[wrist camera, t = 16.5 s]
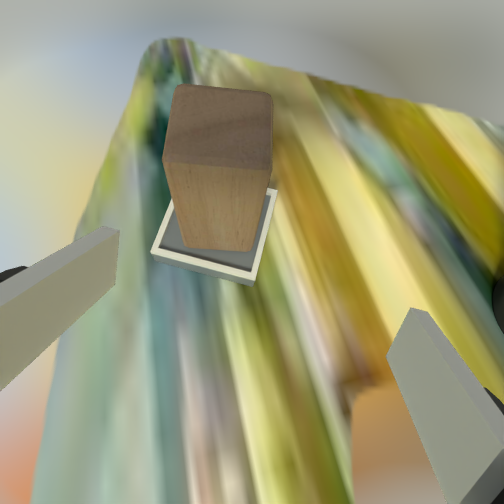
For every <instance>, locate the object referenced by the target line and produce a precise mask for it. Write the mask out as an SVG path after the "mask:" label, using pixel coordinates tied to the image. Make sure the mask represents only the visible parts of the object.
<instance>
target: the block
mask: <svg viewBox="0 0 504 504" xmlns="http://www.w3.org/2000/svg"><path fill="white" fill-rule="evenodd" d="M272 149H273V102H272V98H271V96H270V95H269V94H267V93H265V92H258V91H248V90H239V89H229V88H220V87H211V86H201V85H192V84H180V85H178V86H177V87H176V88H175V91H174V94H173V100H172V105H171V111H170V117H169V123H168V128H167V134H166V140H165V146H164V151H163V157H162V162H163V165H164V169H165V173H166V177H167V181H168V185H169V189H170V193H171V197H172V201H173V205H174V209H175V213H176V217H177V220H178V224H179V228H180V232H181V236H182V240H183V243H184V246H186V247H188V248H197V249H212V250H226V251H240V252H247V251H251V250H252V248H253V245H254V241H255V237H256V233H257V229H258V225H259V221H260V217H261V213H262V209H263V205H264V201H265V196H266V192H267V188H268V184H269V180H270V176H271V172H272Z"/></svg>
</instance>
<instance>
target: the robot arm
mask: <svg viewBox="0 0 504 504" xmlns="http://www.w3.org/2000/svg"><path fill="white" fill-rule="evenodd" d="M119 234H120V230H116V229H113V228H109V227H105V226H102V227H100V228H98V229H97V230H95V231H93V232H91V233H89V234H88V235H86V236H84V237H82V238H80V239H79V240H77V241H75V242H73V243H71V244H70V245H68V246H66V247H64V248H62V249H61V250H59V251H57V252H55V253H53V254H52V255H50V256H48V257H46V258H45V259H43V260H41V261H39V262H37V263H35V264H34V265H32V266H30V267H25V266H21V267H17V268H13V269H9V270H6V271H4V272H2V273H0V391H1V390H2V389H3V388H5V387H6V386H7V385H8V384H9V383H10V382H11V381H12V380H13V379H14V378H15V377H16V376H17V375H18V374H20V373H21V372H22V371H23V370H24V369H25V368H26V367H27V366H28V365H29V364H30V363H31V362H32V361H33V360H35V359H36V358H37V357H38V356H39V355H40V354H41V353H42V352H43V351H44V350H45V349H46V348H47V347H48V346H50V345H51V343H52V342H54V341H55V340H56V339H57V338H58V337H59V336H60V335H61V334H62V333H63V332H65V331H66V330H67V329H68V328H69V327H70V326H71V325H72V324H73V323H74V322H75V321H76V320H77V319H78V318H80V317H81V316H82V315H83V314H84V313H85V312H86V311H87V310H88V309H89V308H90V307H91V306H92V305H94V304H95V303H96V302H97V301H98V300H99V299H100V298H101V297H102V296H103V295H104V294H105V293H106V292H107V291H109V290H110V289H111V288H112V287H113V286H114V285H115V280H116V268H117V257H118V245H119ZM493 309H494V313H495V317H496V319H497V322H498V324H499V326H500V328H501V330H502V331H503V333H504V275H503V276H502V277H501V278H500V279H499V281H498V282H497V284H496V286H495V289H494V292H493ZM386 358H387V360H388V363H389V365H390V368H391V370H392V372H393V375H394V377H395V380H396V382H397V384H398V387H399V389H400V392H401V394H402V396H403V399H404V401H405V403H406V406H407V408H408V411H409V413H410V415H411V418H412V420H413V423H414V425H415V427H416V430H417V432H418V434H419V437H420V439H421V442H422V444H423V446H424V449H425V451H426V454H427V456H428V459H429V461H430V463H431V466H432V468H433V470H434V473H435V475H436V478H437V480H438V482H439V485H440V487H441V489H442V492H443V494H444V497H445V499H446V501H447V504H504V405H503V403H502V402H501V401H500V400H499V399H498V398H497V397H496V396H495V395H493V394H492V393H491V392H490V391H489V390H488V389H487V388H484V387H483V386H482V385H481V384H480V382H479V381H478V380H477V378H476V377H475V376H474V374H473V373H472V372H471V370H470V369H469V367H468V366H467V365H466V363H465V362H464V361H463V359H462V358H461V357H460V355H459V354H458V353H457V351H456V350H455V348H454V347H453V346H452V344H451V343H450V342H449V340H448V339H447V338H446V336H445V335H444V334H443V332H442V331H441V329H440V328H439V327H438V325H437V324H436V323H435V321H434V320H433V319H432V317H431V316H430V314H429V313H428V312H426V311H422V310H419V309H415V308H411V307H410V309H409V311H408V313H407V315H406V317H405V319H404V321H403V323H402V325H401V327H400V329H399V331H398V333H397V335H396V337H395V339H394V341H393V343H392V345H391V347H390V349H389V351H388V353H387V355H386Z"/></svg>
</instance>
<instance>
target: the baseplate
mask: <svg viewBox="0 0 504 504" xmlns="http://www.w3.org/2000/svg"><path fill="white" fill-rule="evenodd" d="M277 192H278V190H275V189H271V188H267V192H266V196H265V201H264V205H263V209H262V213H261V217H260V221H259V225H258V229H257V233H256V237H255V241H254V245H253V248H252V250H251V251H247V252H240V251H226V250H212V249H197V248H188V247H186V246H184V243H183V240H182V236H181V232H180V228H179V224H178V220H177V217H176V213H175V209H174V205H173V201H172V199H171V202H170V204H169V207H168V209H167V212H166V214H165V217H164V219H163V222H162V224H161V227H160V229H159V232H158V234H157V237H156V239H155V242H154V244H153V247H152V249H151V251H150V252H151V253H152V255H153V257H154V259H155V261H157V262H161V263H165V264H168V265H172V266H176V267H180V268H183V269H187V270H191V271H195V272H199V273H202V274H206V275H210V276H214V277H217V278H221V279H225V280H229V281H232V282H236V283H240V284H244V285H248V286H251V287H253V285H254V282H255V279H256V275H257V271H258V267H259V263H260V259H261V255H262V251H263V247H264V243H265V239H266V235H267V231H268V227H269V223H270V219H271V216H272V212H273V208H274V204H275V200H276V196H277Z"/></svg>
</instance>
